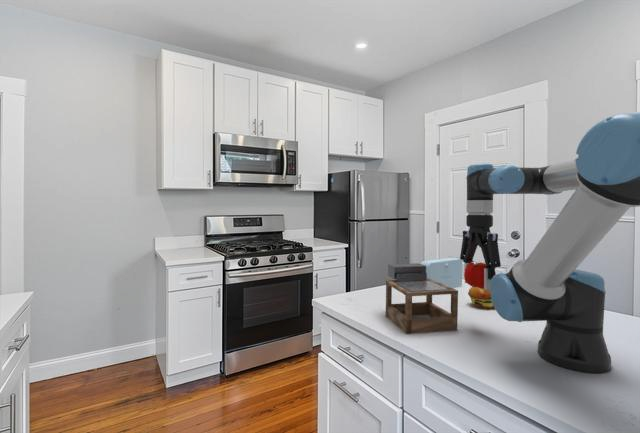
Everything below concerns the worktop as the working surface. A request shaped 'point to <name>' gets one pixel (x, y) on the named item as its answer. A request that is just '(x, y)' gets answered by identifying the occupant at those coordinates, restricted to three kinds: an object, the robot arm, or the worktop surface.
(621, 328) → the worktop surface
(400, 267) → the trapdoor
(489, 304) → the cheeseburger
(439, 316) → the frame
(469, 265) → the tomato
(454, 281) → the light blue box
